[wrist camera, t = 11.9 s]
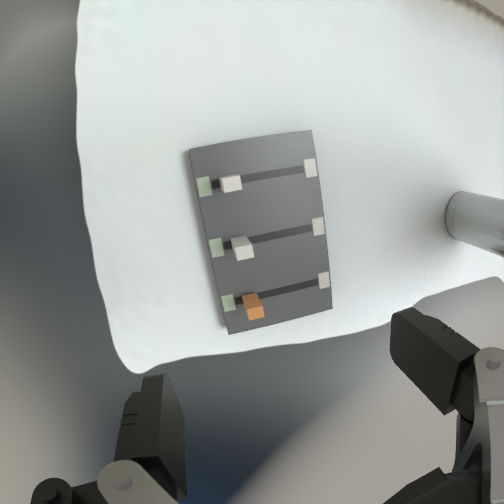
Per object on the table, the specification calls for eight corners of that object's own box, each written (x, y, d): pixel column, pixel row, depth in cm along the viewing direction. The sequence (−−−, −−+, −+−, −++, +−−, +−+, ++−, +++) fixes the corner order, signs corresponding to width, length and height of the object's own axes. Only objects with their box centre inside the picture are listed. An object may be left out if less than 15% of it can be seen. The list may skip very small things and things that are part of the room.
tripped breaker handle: (256, 292, 43) (262, 305, 39) (257, 302, 44) (264, 316, 40) (241, 295, 43) (246, 309, 39) (243, 306, 44) (249, 320, 39)
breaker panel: (305, 131, 42) (325, 126, 35) (326, 301, 49) (345, 322, 42) (189, 150, 40) (188, 146, 33) (226, 326, 47) (232, 352, 40)
